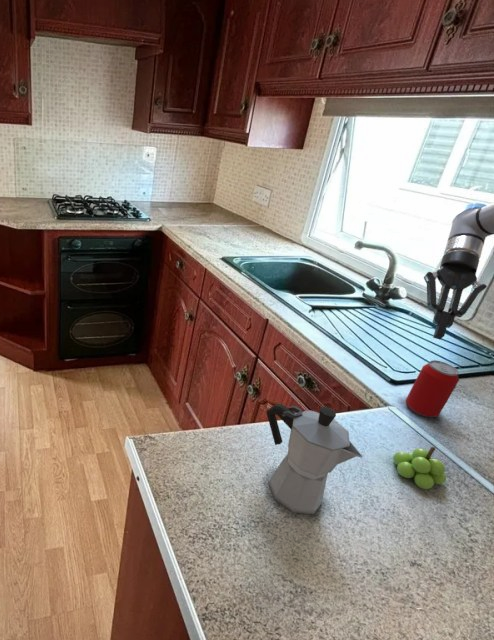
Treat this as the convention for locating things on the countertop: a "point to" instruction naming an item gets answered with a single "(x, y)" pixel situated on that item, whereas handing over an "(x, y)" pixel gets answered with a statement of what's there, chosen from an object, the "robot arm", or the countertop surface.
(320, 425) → the coffee maker
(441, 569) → the countertop surface
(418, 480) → the grape bunch
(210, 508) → the countertop surface
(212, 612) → the countertop surface
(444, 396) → the beverage can
